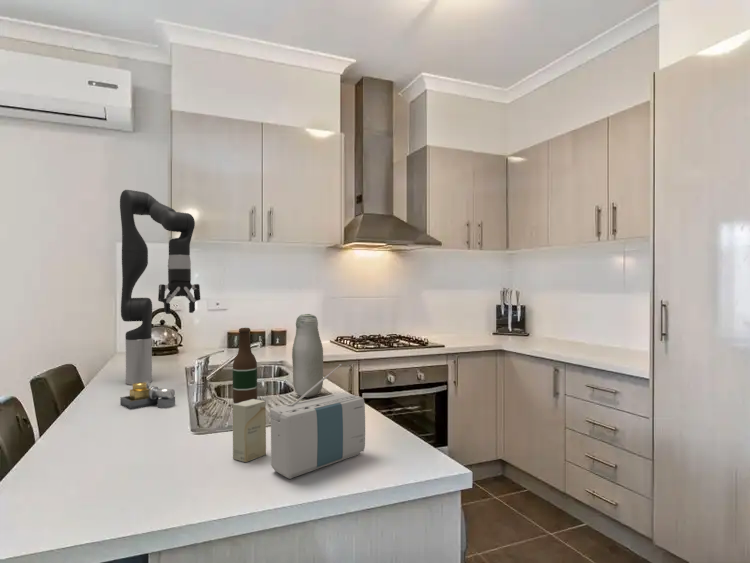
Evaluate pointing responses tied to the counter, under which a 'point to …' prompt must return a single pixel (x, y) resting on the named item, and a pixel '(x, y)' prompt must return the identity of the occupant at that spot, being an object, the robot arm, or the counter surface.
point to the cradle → (137, 402)
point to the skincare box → (249, 430)
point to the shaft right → (162, 396)
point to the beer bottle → (244, 370)
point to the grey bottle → (307, 356)
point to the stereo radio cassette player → (316, 432)
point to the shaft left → (147, 384)
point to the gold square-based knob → (139, 391)
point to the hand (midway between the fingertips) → (179, 313)
